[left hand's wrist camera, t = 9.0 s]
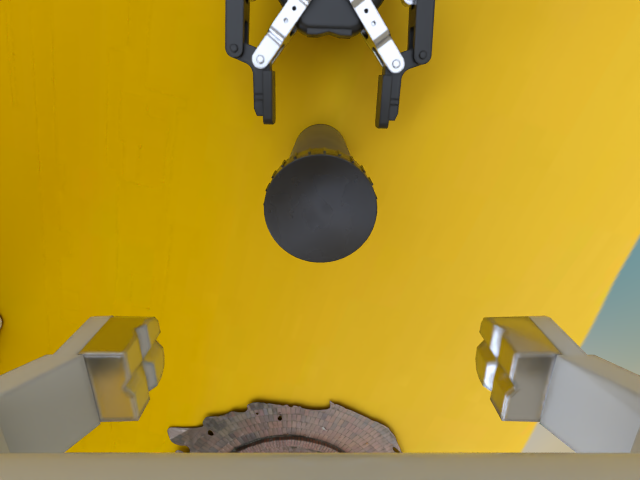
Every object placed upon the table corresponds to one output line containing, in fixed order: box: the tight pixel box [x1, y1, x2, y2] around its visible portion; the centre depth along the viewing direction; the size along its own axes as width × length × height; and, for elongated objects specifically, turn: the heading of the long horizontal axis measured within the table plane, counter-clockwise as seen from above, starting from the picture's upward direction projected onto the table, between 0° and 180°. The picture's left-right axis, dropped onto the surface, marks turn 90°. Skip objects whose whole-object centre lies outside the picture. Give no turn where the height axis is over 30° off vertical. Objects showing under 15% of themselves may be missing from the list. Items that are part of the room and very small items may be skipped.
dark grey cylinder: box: [290, 124, 350, 157], centre depth 29 cm, size 5×5×19 cm
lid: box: [263, 147, 377, 262], centre depth 21 cm, size 6×6×2 cm
